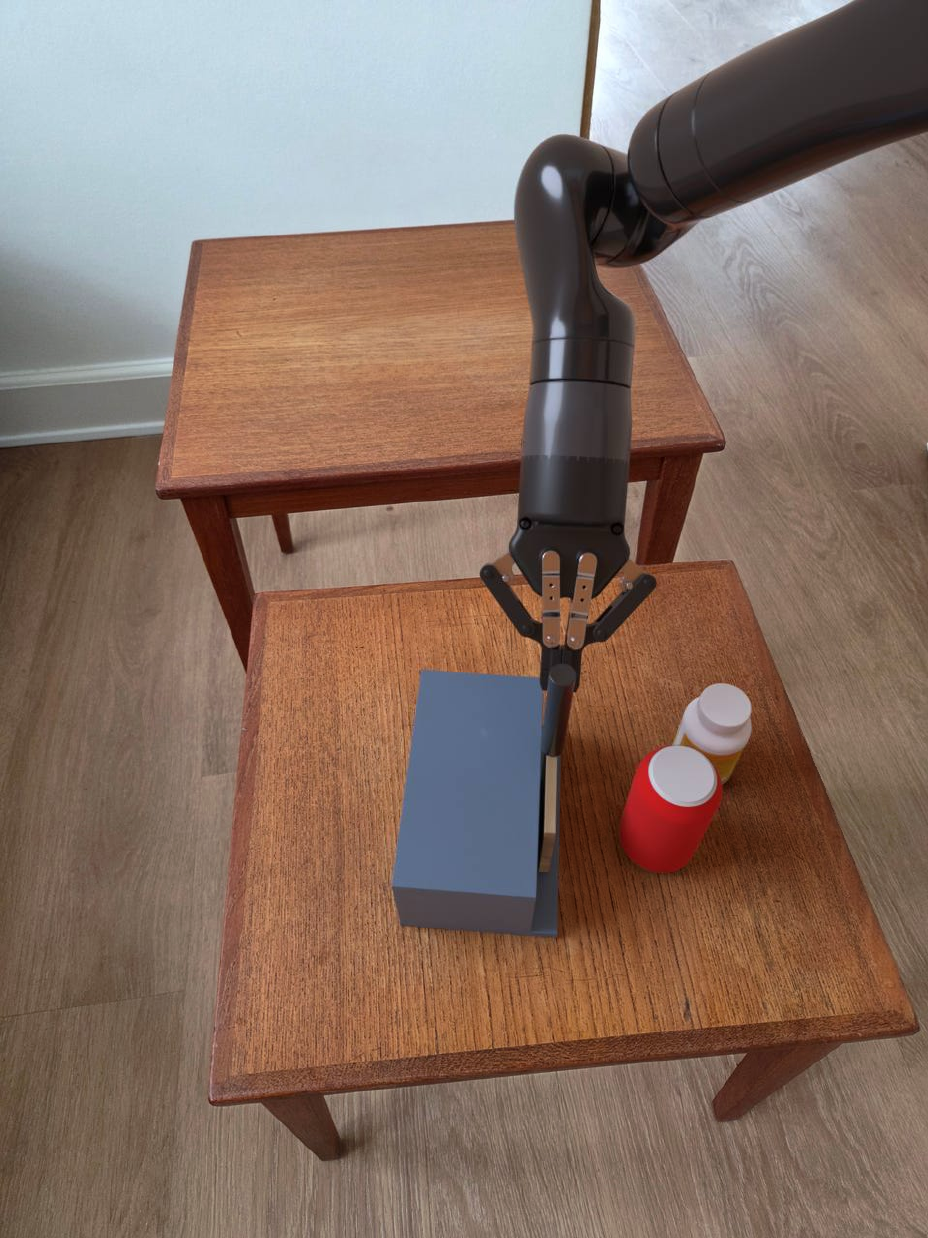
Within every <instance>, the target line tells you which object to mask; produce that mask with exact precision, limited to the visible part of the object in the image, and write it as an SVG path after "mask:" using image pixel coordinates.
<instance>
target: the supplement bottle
mask: <svg viewBox="0 0 928 1238" xmlns="http://www.w3.org/2000/svg"><path fill="white" fill-rule="evenodd" d="M752 711H753V709H752V702H751V701H750V698H749V697H748V695H747V694H746V693H745V692H744V691H743V690H742V689H740V688H739V687H737V686H735V685H733V684H730V683H726V682H725V683H723V682H719V683H713V684H710V685H708V686H707V687H705V689H704V690H703V691H702V692H701V694H700V696H698V697H697V696H696V698H694V699H693V700H692V701H691V702H689V704H688V705H687V706H686V708H685V710H684V712H683V715H682V718H681V720H680V722H679V725H678V728H677V730H676V733H675V736H674V739H673V741H672V743H671V745H683V746H688V747H691V748H694V749H696V750H698V751H699V752H701V753H702V754H704V755H705V756H706V757H707V758H708V759H709V760H710V761H711V762H712V763H713V765H714V766H715V768H716V769H717V771H718V773H719V775H720V778H721V782H722V785H724V784H725V783H727V781H728V780H729V779H730V777H731V775H732V773H733V772H734V770H735V767H736V766H737V764H738V761H739V760H740V757H741V755H742V754H743V752H744V750H745V748H746V746H747V744H748V742H749V740H750V738H751V736H752V730H753V728H752V727H753V725H752V720H751V715H752Z"/></svg>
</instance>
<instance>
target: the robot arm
mask: <svg viewBox="0 0 928 1238" xmlns="http://www.w3.org/2000/svg"><path fill="white" fill-rule="evenodd" d="M927 133H928V0H852V1H850V2H848V3H846V4H844V5H843V6H841V7H839V8H837V9H835V10H833V11H831V12H829V13H827V14H824V15H822V16H820V17H818V18H816V19H813V20H810V21H809V22H807V23H804V24H802V25H800V26H797V27H795V28H793V29H790V30H789V31H786V32H784V33H782V34H780V35H778V36H775V37H772V38H771V39H768V40H766V41H765V42H762V43H760V44H758V45H756V46H754V47H752V48H751V49H749V50H746V51H745V52H743V53H741V54H739V55H737V56H735V57H733V58H731V59H730V60H728V61H727V62H725V63H723V64H721V65H719V66H717V67H716V68H714V69H712V70H711V71H709V72H707V73H706V74H704V75H702V76H700V77H698V78H697V79H695V80H693V81H692V82H690V83H689V84H687V85H685V86H683V87H682V88H680V89H678V90H676V91H675V92H673V93H671V94H670V95H668V96H666V97H665V98H663V99H662V100H660V101H659V102H658V103H656V104H654V106H652V107H651V108H649V110H647V111H646V113H644V114H643V116H641V118H640V119H639V120H638V122H637V124H636V125H635V127H634V129H633V131H632V133H631V136H630V138H629V142H628V148H627V152H623V151H620V150H618V149H614V148H612V147H610V146H606V145H603V144H601V143H598V142H596V141H593V140H591V139H587V138H585V137H582V136H579V135H575V134H567V133H560V134H554V135H552V136H550V137H547V138H546V139H544V140H543V141H541V142H540V143H539V144H537V146H536V147H535V148H534V149H533V150H532V151H531V153H530V154H529V155H528V157H527V159H526V160H525V162H524V164H523V166H522V168H521V170H520V173H519V176H518V180H517V183H516V187H515V193H514V200H513V201H514V202H513V224H514V225H513V226H514V233H515V240H516V245H517V246H516V247H517V250H518V256H519V260H520V261H519V262H520V266H521V271H522V277H523V281H524V288H525V295H526V299H527V304H528V309H529V314H530V318H531V325H532V335H531V347H530V364H529V365H530V366H529V381H528V385H529V386H528V393H527V399H526V404H525V408H524V415H523V421H522V435H521V440H520V448H521V453H520V468H519V469H520V471H519V483H518V484H519V487H518V501H517V502H518V504H517V519H516V528H515V531H514V533H513V534H512V537H511V538H510V540H509V543H508V550H507V551H505V553H503V554H501V555H499V556H498V557H497V558H496V559H494V560H493V561H492V562H486V563H485V564H483V565H482V567H481V568H480V569H479V577H480V580H481V581H482V582H483V583H484V585H485V586H486V588H487V590H488V591H489V592H490V594H491V596H493V598H494V600H495V601H496V602H497V604H498V605H499V607H500V608H501V609H502V612H504V614H505V615H506V617H507V619H509V621H510V622H511V624H512V625H513V626H514V628H515V630H516V631H517V633H518V634H519V635H520V636H521V637H523V638H527V639H530V640H532V641H535V642H537V643H538V645H540V648H541V650H540V664H539V665H540V666H539V667H540V668H539V677H540V685H541V688H542V690H543V692H545V691H546V692H547V688H548V679H549V672H550V670H551V668H552V667H553V666H555V665H557V664H567V665H569V666H571V667H572V668H573V669H574V670H575V672H576V681H575V687H574V693H573V694H576V693H577V692H578V690H579V688H580V683H581V670H582V656H583V651H584V649H585V647H587V646H589V645H592V644H596V643H605V642H607V641H608V640H609V639H610V638H611V637H612V636H613V635H614V634H615V632H617V630H618V629H619V628H620V627H621V626H622V625H624V623H625V622H626V621H627V620H628V618H629V617H630V616H631V615H632V614H633V613H634V612H635V611H636V610H637V609H638V607H640V605H641V604H642V603H644V601H645V600H646V599H647V598H648V597H649V596H650V594H651V593H652V592H654V590H655V589H656V587H657V585H658V581H657V578H656V577H655V576H654V575H653V574H651V573H650V572H646V571H645V570H644V569H643V568H641V566H639V565H638V564H637V563H636V562H635V561H633V559H632V558H630V557H631V549H630V545H629V543H628V540H627V538H626V535H625V527H626V526H625V525H626V513H627V501H628V487H629V473H630V460H631V459H630V458H631V450H632V449H631V448H632V436H633V435H632V434H633V410H632V409H633V408H632V386H633V373H634V372H633V371H634V358H635V348H636V332H637V330H636V329H637V328H636V316H635V312H634V310H633V308H632V307H631V306H630V305H629V304H628V303H627V302H626V301H625V300H623V299H621V297H618V296H617V295H615V294H614V293H613V292H611V291H610V290H609V289H607V287H606V286H604V284H603V283H602V281H601V280H600V278H599V274H598V271H597V267H601V268H604V269H605V268H606V269H613V270H614V269H619V270H620V269H627V268H633V267H636V266H640V265H643V264H645V263H648V262H650V261H651V260H654V259H655V258H657V257H659V255H661V254H662V253H664V252H665V251H666V250H667V249H669V248H670V247H671V246H672V245H674V244H675V243H676V242H678V241H679V240H681V238H684V237H685V236H686V235H687V234H688V233H689V232H690V231H692V230H693V229H694V228H695V227H696V226H697V225H698V224H699V223H700V222H702V221H704V220H708V219H710V218H713V217H716V216H718V215H721V214H724V213H726V212H728V211H732V210H733V209H736V208H739V207H741V206H743V205H746V204H748V203H751V202H753V201H755V200H758V199H761V198H763V197H765V196H768V195H770V194H773V193H774V192H777V191H779V190H782V189H784V188H787V187H788V186H791V185H793V184H796V183H799V182H801V181H803V180H805V179H808V178H810V177H812V176H814V175H817V174H819V173H821V172H823V171H826V170H829V169H830V168H832V167H835V166H838V165H839V164H842V163H845V162H846V161H849V160H851V159H852V160H853V159H854V158H856V157H860V156H861V155H865V154H867V153H870V152H872V151H875V150H877V149H881V148H883V147H885V146H889V145H892V144H894V143H895V144H896V143H898V142H901V141H904V140H907V139H911V138H913V137H917V136H920V135H924V134H927ZM514 564H515V565H516V567H517V568H518V570H519V572H520V573H521V575H522V576H523V578H524V579H525V581H526V582H527V583H528V585H529V587H530V588H531V590H532V591H533V592H534V593H535V594H536V595H538V596H539V597H541V621H539V620H536V619H534V618H533V617H532V615H531V614H530V613H529V611H528V610H527V608H526V607H525V605H524V604H523V603H522V602H521V599H520V598H519V597H518V595H517V594H516V592H515V591H514V589H513V588H512V587H511V586H512V584H513V583H514V582H515V573H514V571H513V566H514ZM620 571H621V577H620V578H619V580H618V588H619V589H620V592H619V594H618V595H616V597H615V598H614V599H613V600H612V601H611V602H610V604H609V605H608V606H607V607H606V608H605V609H604V610H603V611H601V614H599V615H598V617H597V618H596V619H595V620H594V621H593V622H590V623H588V619H589V615H590V609H591V602H592V600H593V599H595V598H597V597H599V595H600V594H602V592H603V591H604V590H605V589H606V588H607V586H608V585H609V584H610V583H611V582H612V580H614V578H616V576H617V575H618V574H619V572H620ZM565 598H567V599H569V605H568V615H567V622H566V627H565V634H564V642H563V643H564V644H560V642H561V599H565Z"/></svg>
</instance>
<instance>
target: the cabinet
mask: <svg viewBox="0 0 928 1238" xmlns="http://www.w3.org/2000/svg"><path fill="white" fill-rule="evenodd" d="M543 711H544V691H543V690H542V688H541V685H540V676H525V675H511V674H494V673H493V674H492V673H481V672H480V673H479V672H465V671H461V672H460V671H445V670H433V669H432V670H431V669H421V670H420V678H419V683H418V689H417V697H416V704H415V712H414V713H415V714H414V719H413V725H412V726H413V727H412V732H411V733H412V734H411V741H410V742H411V743H410V749H409V750H410V751H409V755H408V762H407V764H408V765H407V770H406V777H405V783H404V784H405V785H404V792H403V799H402V804H401V805H402V807H401V813H400V821H399V826H398V835H397V841H396V842H397V843H396V850H395V857H394V865H393V872H392V878H391V885H390V886H391V890H392V893H393V898H394V903H395V907H396V911H397V916H398V920H399V925H400V926H402V927H415V928H428V929H429V928H430V929H439V930H449V931H450V930H451V931H462V932H463V931H464V932H476V933H487V934H488V933H489V934H500V935H513V936H523V937H535V938H536V937H537V938H547V939H557V937H558V929H559V928H558V925H559V924H558V923H559V922H558V921H559V920H558V918H559V917H558V916H559V873H560V872H559V869H560V868H559V867H560V860H559V859H560V821H561V819H560V813H561V763H562V760H561V757H562V754H560V755H559V756H557V796H556V834H555V840H554V845H553V851H552V856H551V862H550V867H549V872H539V871H538V868H539V838H540V808H541V778H542V768H543V761H544V753H543V752H542V750H541V737H542V729H543V717H544V712H543Z"/></svg>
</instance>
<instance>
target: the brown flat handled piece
mask: <svg viewBox="0 0 928 1238" xmlns="http://www.w3.org/2000/svg"><path fill="white" fill-rule="evenodd" d="M575 681H576V672H575V670H574V669H573V668H572V667H571V666H569V665H567V664H557V665H555V666H553V667H552V668H551V670H550V672H549V679H548V688H547V691H546V697H545V705H544V712H543V720H542V725H543V729H542V737H541V750H542V752H543V753H544V761H543V768H542V778H541V808H540V838H539V868H538V871H539V872H549V867H550V862H551V856H552V851H553V845H554V840H555V834H556V796H557V756H559V755H560V754H561V755H562V754H563V752H564V750H565V745H566V740H567V734H568V730H569V729H568V728H569V722H570V716H571V710H572V704H573V698H574V694H575V693H574V687H575Z"/></svg>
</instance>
